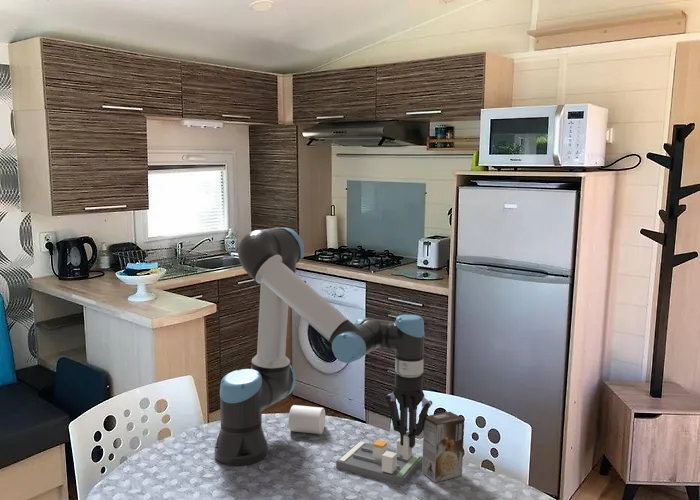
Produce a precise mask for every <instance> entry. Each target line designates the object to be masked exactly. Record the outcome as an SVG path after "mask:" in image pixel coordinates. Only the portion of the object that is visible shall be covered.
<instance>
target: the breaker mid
mask: <svg viewBox="0 0 700 500" xmlns="http://www.w3.org/2000/svg"><path fill="white" fill-rule="evenodd" d="M372 445H373V459H377V460H381V461H382V455H383V454H384V453H385V452H386V451H387V448H388V441H385V440H381V439H377V440H375V441H374V442H373V443H372Z"/></svg>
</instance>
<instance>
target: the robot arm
mask: <svg viewBox="0 0 700 500" xmlns="http://www.w3.org/2000/svg"><path fill="white" fill-rule="evenodd" d="M304 254H305V247H304V242H303V240H302V238H301V237H300V235H299V234H298V232H296V231H295V230H293V229H292V228H289V227H279V226H277V227H271V228H265V229H264V228H263V229H255V230H252V231H250V232H248V233H246V234H245V235H244V236H243V237H242V239H241V240H240V242H239V244H238V247H237V256H238V261H239V264H240V265H241V268H243V270H244V271H245V272H246V273H247V275H249V277H251V278H252V280H254V281H255V282H256V283H257V284H260V290H259V291H260V293H259V307H258V308H259V309H258V328H257V329H258V331H257V346H256V350H257V351H256V355H254V356H253V357H252V359H251V364H250V365H251V367H250V368H242V369H239V370H238V369H236V370H233V371H231V372H228V373H227V374H226V375H224V376H223V377H222V379H221V381H220V387H219V407H220V408H219V409H220V410H219V411H220V429H219V434H218V436H217V438H216V442H215V446H214V457H215V459H216V460H217V461H218V462H219V463H221V464H224V465H228V466H246V465H247V466H248V465H250V464H255V463H257V462H260V461H262V460H263V459H265V458H266V456H267V455H268V452H269V447H268V446H269V445H268V441H267V439H266V435H265V432H264V430H263V426H262V424H263V423H262V422H263V421H262V419H263V418H262V417H263V416H262V413H263V412H262V411H265V409H266V410H267V409H268V408H269V407H272V405H274V404H277V403H279V402H281V401H283V400H284V399H285V398H287V397H288V396H289V395H290V394H292V393H293V391H294V388H295V386H296V379H297V378H296V376H297V375H296V372H295V370H294V369H293V366H292V365H291V360H290V358H288V357H287V356H286V349H287V336H288V335H287V334H288V332H287V331H288V330H287V329H288V318H289V317H288V315H289V307H290V308H291V309H292V310H293V311H294V312H295V313H297V314H298V315H299V316H300V317H301V318H302V319H303V320H304V321H306V322H307V324H309V325H310V326H311V327H312V328H314V330H316V331H317V332H318V333H319V334H320V335H321V336H322V337H323V338H324V339H326V340H327V341H328V342H329V343H330V344H331V351H332V352H333V356H334V357H335V359H337V360H338V361H340V362H341V363H344V364H348V363H353V362H356V361H358V360H360V359H362V358H364V357H365V356H366V355H368V354H370V353H371V352H373V351H375V350H377V349H384V350H385V349H386V350H394V351H395V352H394V357H395V362H394V363H395V364H394V367H395V368H394V372H396V373H395V374H394V389H393V391H392V393H391V392H389V394H387V395H385V400H386V402H387V404H388V409H389V413H390V417H391V418H390V419H391V422H392V427H393V431H394V432H398V433H399V436H400V437H399V438H400V444H401V445H402V446H403V459H406V460H409V459H410V458H411V456H412V454H413V448H414V447H415V446H416V437H419V436H420V435H421V434H422V433H423V432H424V424H425V420H426V417H427V416H428V412H429V409H430V408H431V406H432V405H433V401H432V400H428V399H427V398H426V397H425V393H424V374H423V373H424V353H425V349H424V348H425V335H426V333H425V325H424V324H425V323H424V322H425V321H424V319H423V318H422V316H420V315H418V314H405V313H404V314H400V315H397V316H396V319H395V320H394V321H393V320H383V319H377V318H372V317H359V318H357V319H356V320H355V322H351V321H350V320H349V318H346V316H344V315H343V314H342V313H341V312H340V311H339V310H338V309H336V307H334V306H333V305H332V304H331V303H330V302H328V301H327V300H326V299H325V298H324V297H323V296H321V295H320V294H319V292H317V291H316V290H315V289H314V288H312V287H311V286H310V285H309V284H308V283H307V282H306V281H304V280H303V279H302V278H301V277H300V276H299V275H297V274H296V271H297V270H296V269H297V264H298V263H299V262H300V260H302V258H303V256H304ZM397 402H398V404H397ZM419 404H421V407H422V408H421V409H420V414H419V418H418V420H417V414H418V413H417V412H418V411H417V410H418V406H419ZM398 405H399V409H398ZM399 413H400V414H399Z"/></svg>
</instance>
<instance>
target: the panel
mask: <svg viewBox="0 0 700 500" xmlns="http://www.w3.org/2000/svg"><path fill="white" fill-rule="evenodd" d="M387 451H390V452H394V453H396V451H397V449H392V448H388V447H387ZM422 458H423V456H422V455H416V454H413V453H412V456H411V458H410V459H409V460H406V459H403V457H402V456H398V455H397V465H396V470H395V471H394V472H393V473H392V474H391V473H387V472H384V471H382V461H381V460H377V459H373V443H372V444H371V443H368V442H364V441H357V442H356V443H355V444H353V446H352V447H350V448H349V449H348V450H347V451H346V452H345V453H344V454H342V455H341V456H340V457H338V459H337V460H336V461H335V464H336V465H335V466H336V467H335V468H336V469H340V470H344V471H347V472H350V473H354V474H357V475H361V476H365V477H369V478H372V479H376V480H379V481H384V482H387V483H391V484H393V485H397V486H401V487H404V486H405V485H406V484H407V482H408V481H409V480H411V478H412V476H413V475H414V474H416V471H417V470H418V469H419V468H420V467H422Z"/></svg>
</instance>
